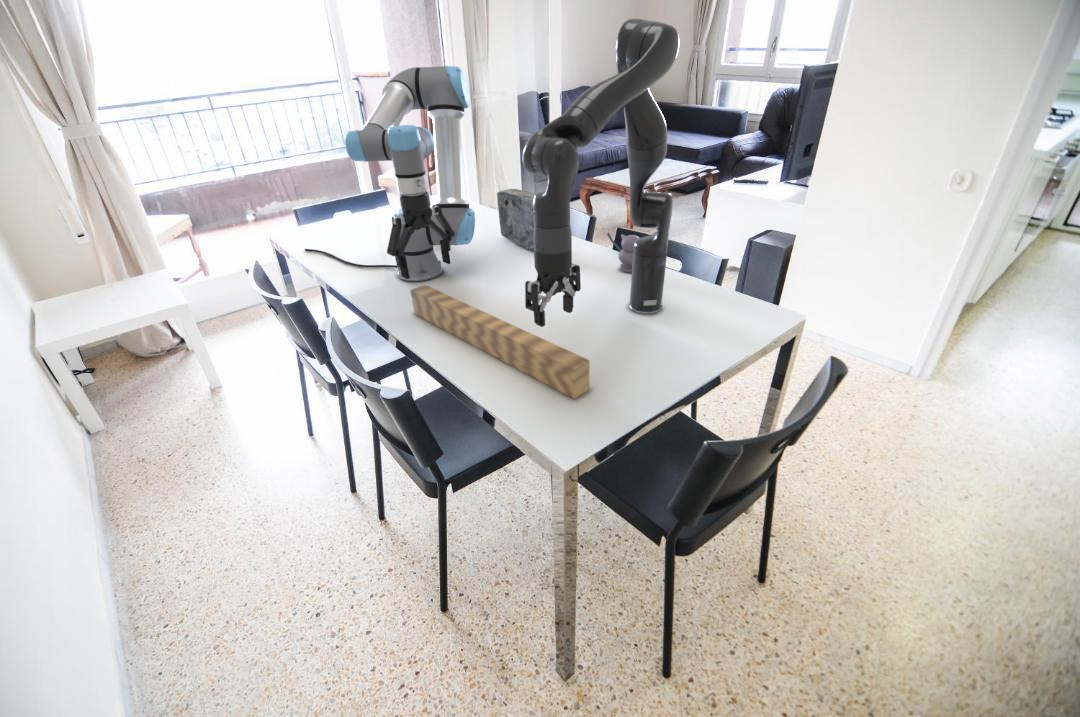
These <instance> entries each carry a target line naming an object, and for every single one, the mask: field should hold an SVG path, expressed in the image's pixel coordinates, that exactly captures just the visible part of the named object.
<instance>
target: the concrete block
mask: <svg viewBox="0 0 1080 717" xmlns="http://www.w3.org/2000/svg"><path fill="white" fill-rule="evenodd" d="M535 194H536V193H535V192H531V191H527V190H522V189H517V188H508V189H503V190H500V191H498V192H497V193H496V197H497V208H498V219H499V221H498V222H499V228H500V234H501V236H503V238H505V239H507V240H508V241H511V243H514V244H515V245H517V246H519V247H522V248H523V249H526V250H529V251H534V242H533V232H534V214H533V199H534V196H535Z"/></svg>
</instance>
